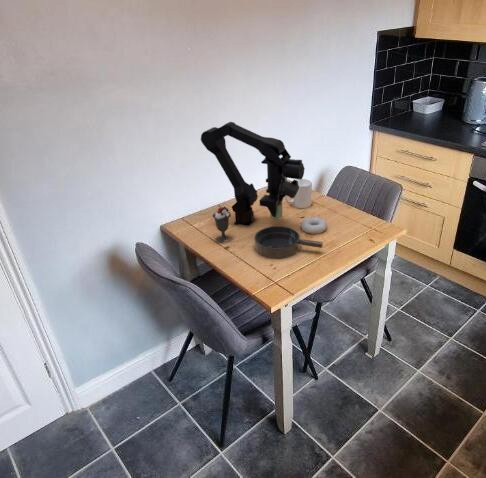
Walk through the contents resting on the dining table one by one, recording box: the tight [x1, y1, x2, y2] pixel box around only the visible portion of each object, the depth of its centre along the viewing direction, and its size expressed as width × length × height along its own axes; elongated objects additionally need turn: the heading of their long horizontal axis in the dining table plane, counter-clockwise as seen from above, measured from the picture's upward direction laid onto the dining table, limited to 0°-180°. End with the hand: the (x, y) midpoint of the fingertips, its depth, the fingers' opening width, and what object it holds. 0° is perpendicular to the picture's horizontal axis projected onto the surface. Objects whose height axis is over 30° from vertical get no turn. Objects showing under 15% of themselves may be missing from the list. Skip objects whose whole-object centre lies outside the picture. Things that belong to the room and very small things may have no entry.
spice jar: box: [269, 199, 283, 220], centre depth 163 cm, size 5×5×7 cm
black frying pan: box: [253, 225, 301, 260], centre depth 153 cm, size 16×16×4 cm
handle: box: [298, 239, 324, 249], centre depth 149 cm, size 8×2×2 cm, turn 72°
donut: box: [300, 216, 328, 235], centre depth 165 cm, size 10×4×10 cm
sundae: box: [211, 204, 232, 244], centre depth 156 cm, size 7×7×15 cm
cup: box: [284, 178, 313, 209], centre depth 182 cm, size 8×12×10 cm
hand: (276, 214), depth 164 cm, fingers closed on spice jar, 4 cm apart
